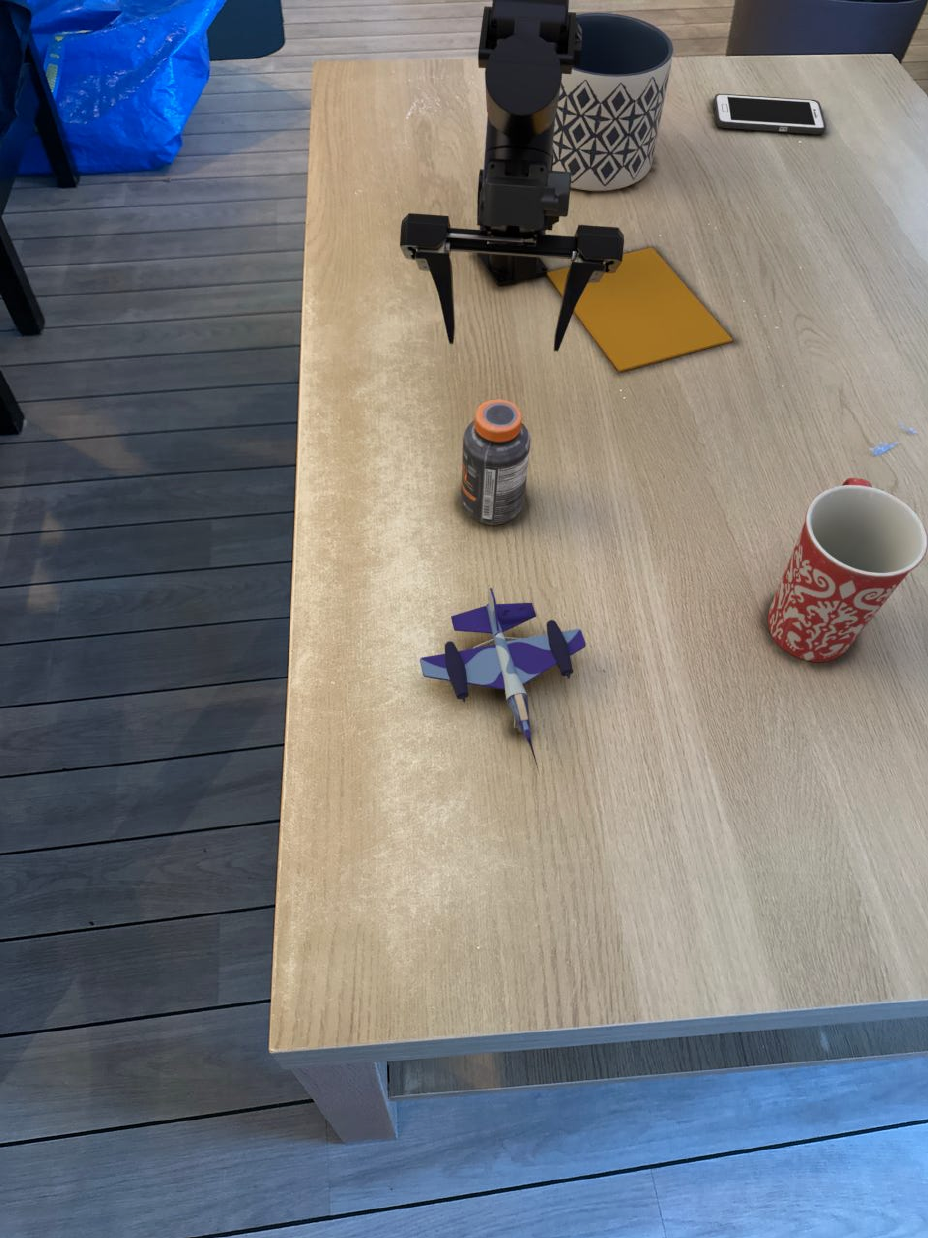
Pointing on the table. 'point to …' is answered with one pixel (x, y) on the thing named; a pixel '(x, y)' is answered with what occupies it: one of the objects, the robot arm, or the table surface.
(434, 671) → the toy airplane
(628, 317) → the cloth
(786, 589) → the mug
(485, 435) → the pill bottle
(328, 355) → the table surface
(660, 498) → the table surface
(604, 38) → the planter
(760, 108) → the cell phone
